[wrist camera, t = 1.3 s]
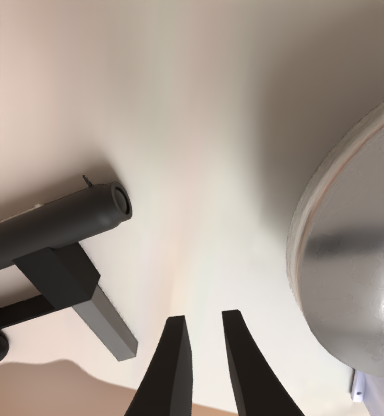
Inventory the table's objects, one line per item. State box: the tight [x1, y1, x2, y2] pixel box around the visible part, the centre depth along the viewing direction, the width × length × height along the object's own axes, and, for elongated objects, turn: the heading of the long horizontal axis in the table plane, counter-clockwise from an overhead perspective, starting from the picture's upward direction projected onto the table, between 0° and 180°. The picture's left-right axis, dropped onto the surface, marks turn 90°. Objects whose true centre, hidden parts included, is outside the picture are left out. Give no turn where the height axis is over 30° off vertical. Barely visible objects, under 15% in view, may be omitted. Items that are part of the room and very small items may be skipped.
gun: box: [0, 175, 138, 361], centre depth 21 cm, size 3×20×16 cm
